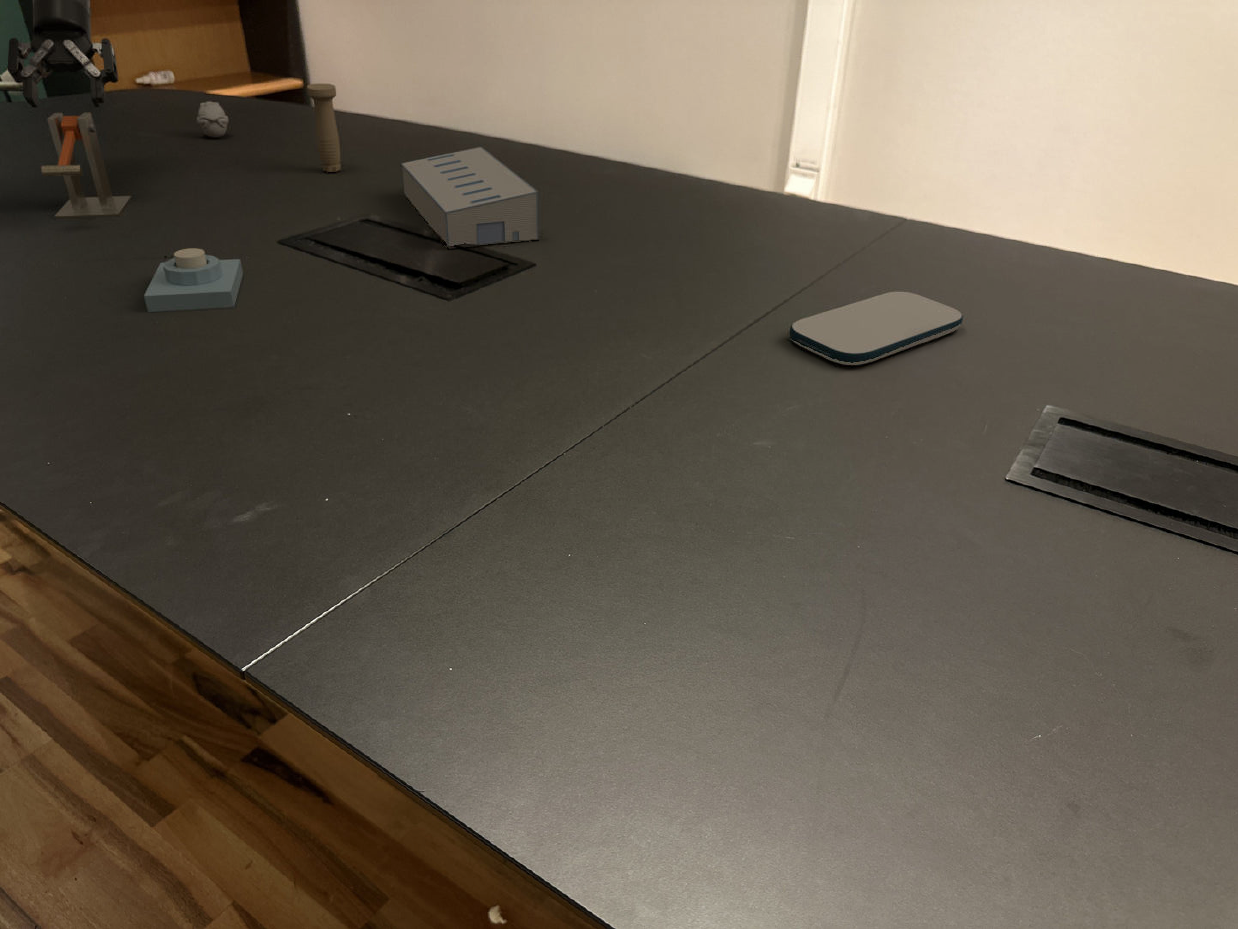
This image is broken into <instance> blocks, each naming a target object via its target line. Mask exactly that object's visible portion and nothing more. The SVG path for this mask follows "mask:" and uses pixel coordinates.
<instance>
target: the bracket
mask: <svg viewBox="0 0 1238 929" xmlns="http://www.w3.org/2000/svg"><path fill="white" fill-rule="evenodd" d="M63 116H64V114H63V112H54V113H53V114H51V115H50V116H49V117H48V118H46V121H47V123H48V124H47V125H48V129H49V132H50V134H51V138H52V140H53V144H54V148H55V152H56V156H57V158H58V160H59V158H60V154H61V150H62V146H63V142H64V138H65V136H64V133H63V131H62V128H61V123H62V119H63ZM78 116H79V117H78V118H77V121H78V125H79V129H80V132H81V136H82V140H81V141H82V143H83V146H84V150H85V154H86V158H87V162H88V165H89V168H90V173H91V176H92V181H93V185H94V187H95V190H96V191H95V192H96V194H97V196H88V197H86V194H85V190H84V186H83V183H82V180H81V175H72V176H63V179H64V183H65V186H66V190H67V193H68V197H69V199H68V200H67V201H66V203H65V204H64V205H62V207H61V208H60V209H59V211H57V213H56V214H55V215H54V219H55V220H61V219H62V220H64V219H67V220H68V219H91V218H92V219H94V218H118V217H120V216H121V215H122V214H123V212H124V210H125V209H126V207H128V205H129V204H130V202H131V201H132V196H131V195H121V196H118V195H117V196H113V192H112V188H111V184H110V181H109V177H108V173H107V168H106V165H105V162H104V158H103V153H102V150H101V146H100V142H99V138H98V134H97V127H96V125H95V123H94V119H93V116H92V112H83V113H82V114H81V115H78ZM70 165H77V161H76V158H75V155H74V151H73V152H72V156H71V161H70Z"/></svg>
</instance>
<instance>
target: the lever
mask: <svg viewBox="0 0 1238 929" xmlns="http://www.w3.org/2000/svg"><path fill="white" fill-rule="evenodd" d="M79 116H80V115H63V119H62V123H61V128H62V131H63V133H64V136H65V138H64V142H63V146H62V150H61V154H60V158H59V159H58V162H57V164H55V165H41V166H40V170H41V174H42V176H43V177H64V176H72V175H79V176H83V175H84V170H83V167H82V165H81V164H76V165H70V161H71V156H72V152H73V153H74V147H75V144H76V141H83V140H82V136H81V132H80V129H79V125H78V121H77V118H78V117H79Z"/></svg>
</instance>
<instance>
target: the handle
mask: <svg viewBox="0 0 1238 929" xmlns="http://www.w3.org/2000/svg"><path fill="white" fill-rule="evenodd" d="M306 90H307V96H308V97H309V98H311V99H312V100H313V107H314V108H313V109H314V116H315V117H314V118H315V129H316V130H315V131H316V140H317V147H318V153H319V157H320V162H321V163H322V164H321V167H322V171H323V172H324V171H326V172H325V173H328V172H337V171H339V170H340V171H342V163H341V147H340V137H339V133H338V127H337V121H336V116H335V109H334V103H333V100H334V98H335V97H337V89H336V86H335V85H334V84H332V83H311V84H307V86H306ZM340 171H339V172H340ZM337 173H338V172H337Z"/></svg>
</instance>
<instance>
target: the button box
mask: <svg viewBox="0 0 1238 929" xmlns="http://www.w3.org/2000/svg"><path fill="white" fill-rule="evenodd" d="M205 256H206V261H207V265H205V266H202V267H197V268H189V269H183V268H177V266H176V262H175V258H174V257H172V258H171V259H168V260H167V261H165V262H160V263H159V265H158V267H157V269H156V271H155V273H154V275H153V276H152V280H151V281H150V283H149V285H148V286H147V289H146V291H145V292H144V295H143V299H144V301H145V302H144V303H145V306H146V309H147V313H158V312H159V313H160V312H175V311H192V310H212V309H227V308H228V309H229V308H235V306H236V301H237V297H238V294H239V291H240V286H241V283H242V280H243V277H244V276H243V275H244V271H243V267H242V262H241V259H240V258H235V259H234V258H233V259H219V258H218V257H216V256H214V255H212V254H211V255H210V254H205Z"/></svg>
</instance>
